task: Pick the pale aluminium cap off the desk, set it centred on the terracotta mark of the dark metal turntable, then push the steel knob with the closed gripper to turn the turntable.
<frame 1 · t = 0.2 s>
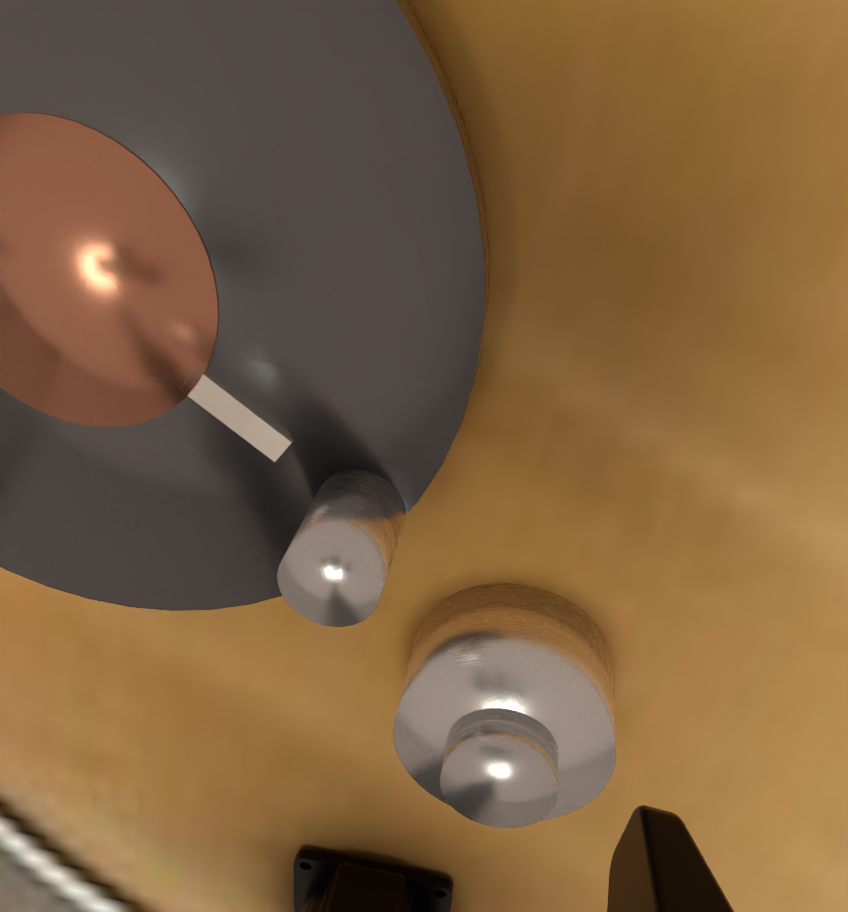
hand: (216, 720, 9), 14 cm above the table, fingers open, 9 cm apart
turntable: (46, 299, 18), point 3 cm above the table, hinge at 0.0°
cap: (511, 660, 26), on the table
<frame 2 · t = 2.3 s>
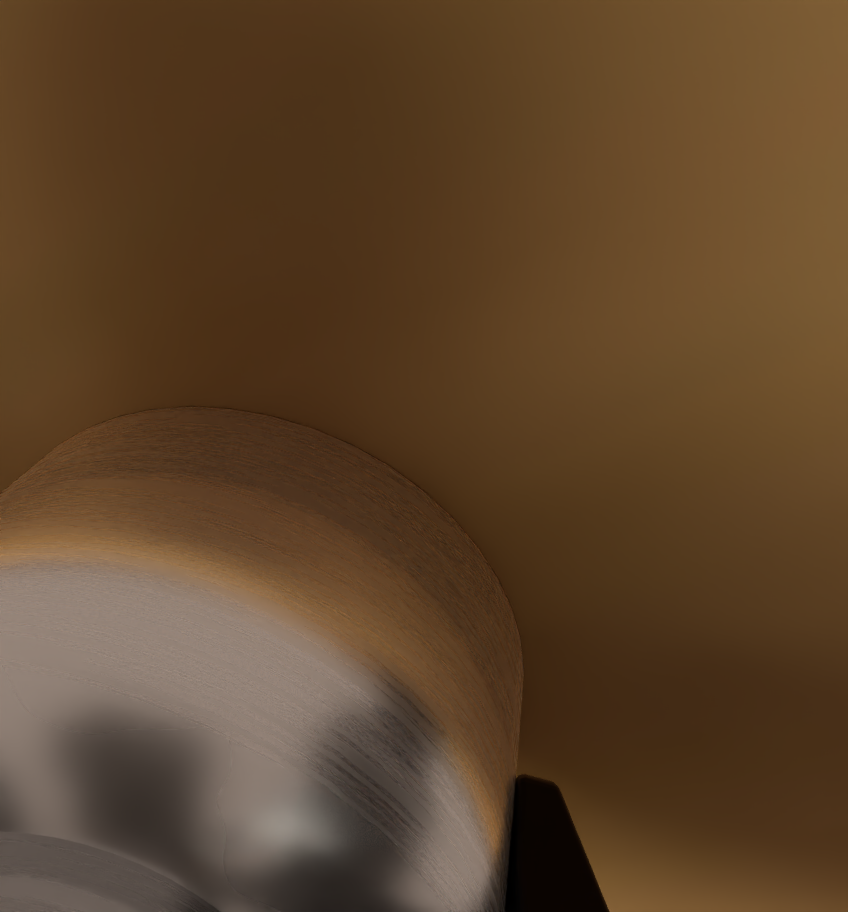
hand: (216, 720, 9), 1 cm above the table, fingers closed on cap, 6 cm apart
cap: (250, 653, 9), on the table, touching gripper
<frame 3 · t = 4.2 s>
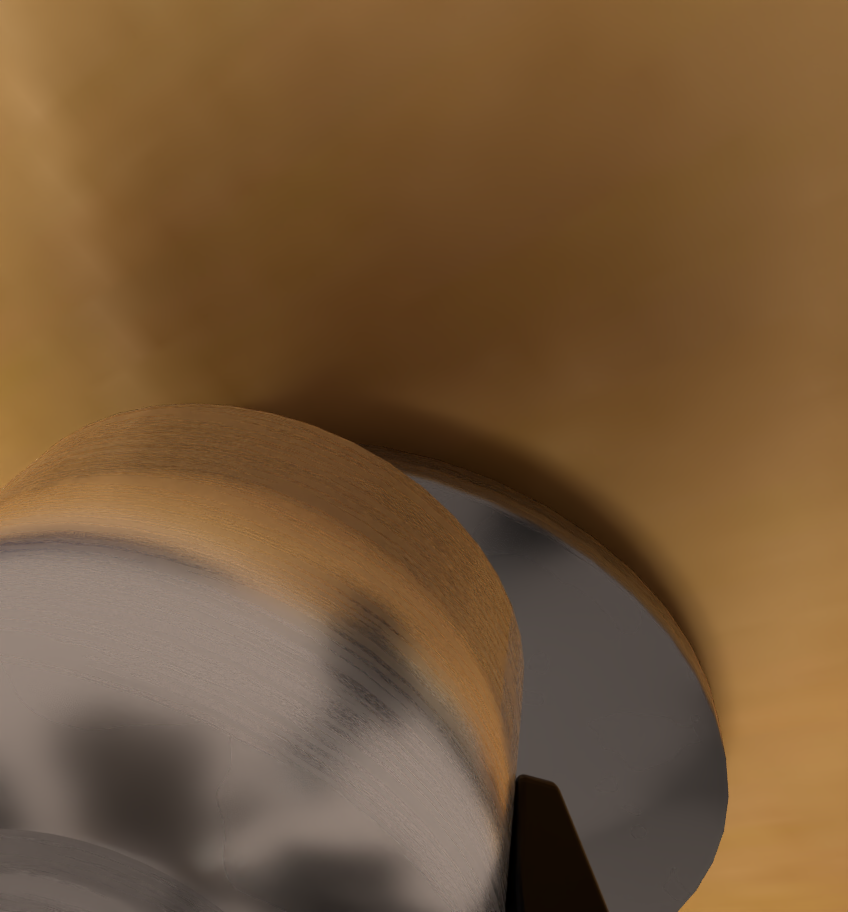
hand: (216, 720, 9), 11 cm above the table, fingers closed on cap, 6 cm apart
turntable: (335, 808, 21), point 4 cm above the table, hinge at 0.0°
cap: (250, 650, 9), point 10 cm above the table, touching gripper
when the fingers open (5 cm above the table, at t = 6.5 s): cap drops 1 cm, resting on turntable.
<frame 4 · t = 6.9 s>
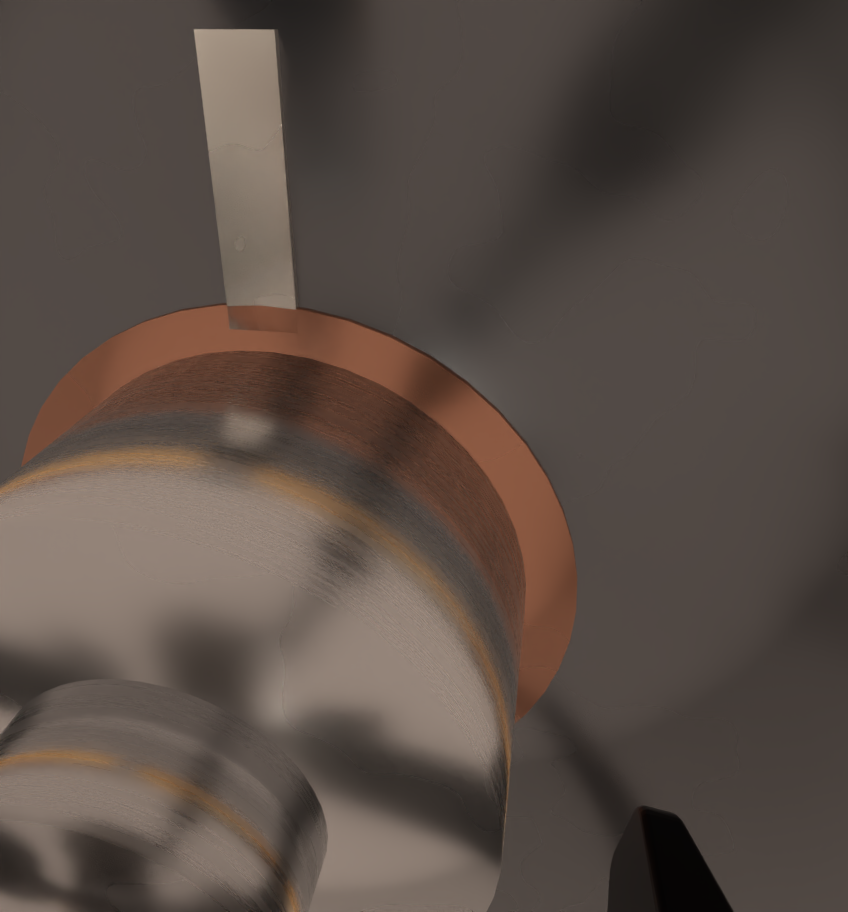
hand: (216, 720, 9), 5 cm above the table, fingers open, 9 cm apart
turntable: (264, 618, 10), point 3 cm above the table, hinge at 0.0°, touching cap
cap: (284, 576, 11), point 3 cm above the table, touching turntable
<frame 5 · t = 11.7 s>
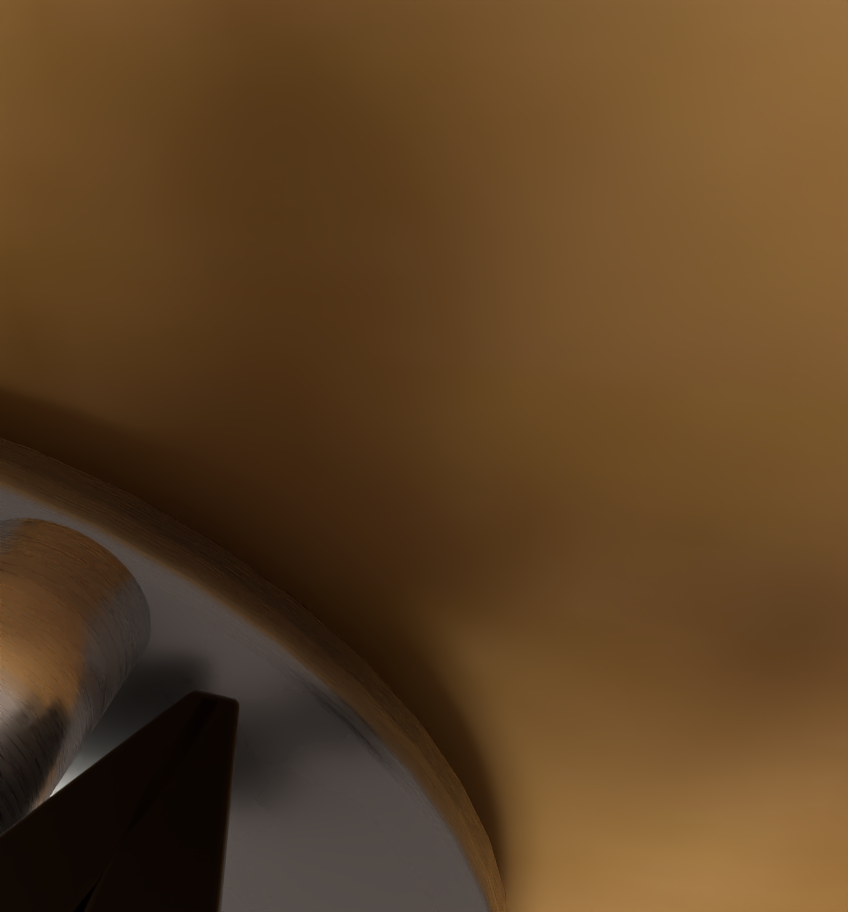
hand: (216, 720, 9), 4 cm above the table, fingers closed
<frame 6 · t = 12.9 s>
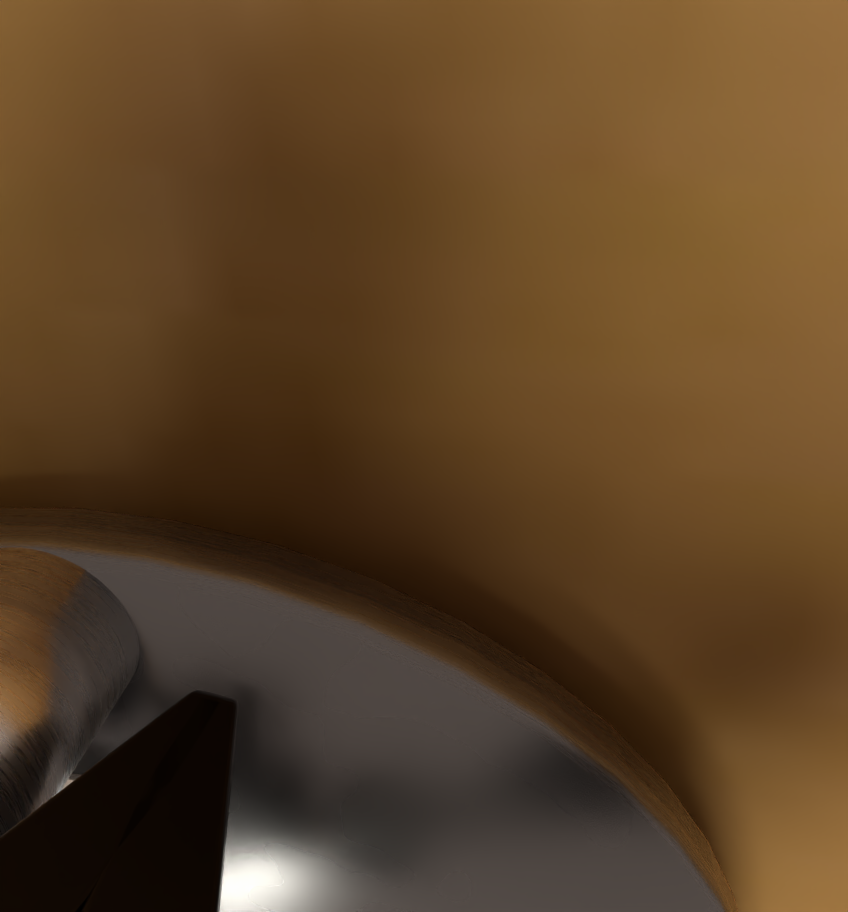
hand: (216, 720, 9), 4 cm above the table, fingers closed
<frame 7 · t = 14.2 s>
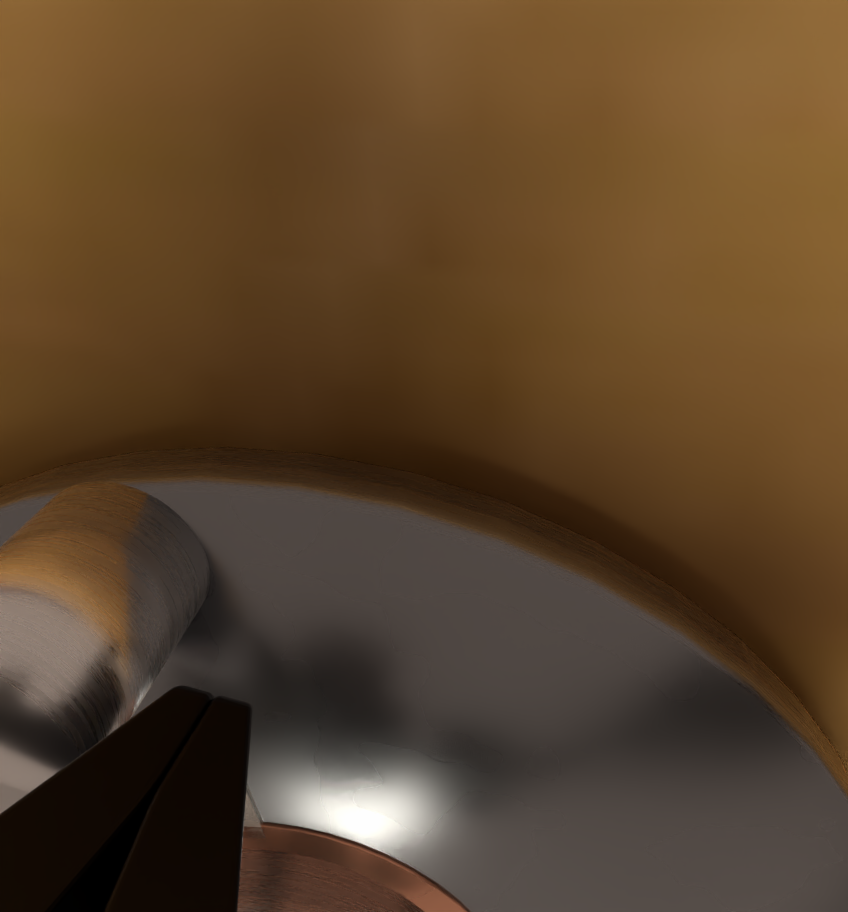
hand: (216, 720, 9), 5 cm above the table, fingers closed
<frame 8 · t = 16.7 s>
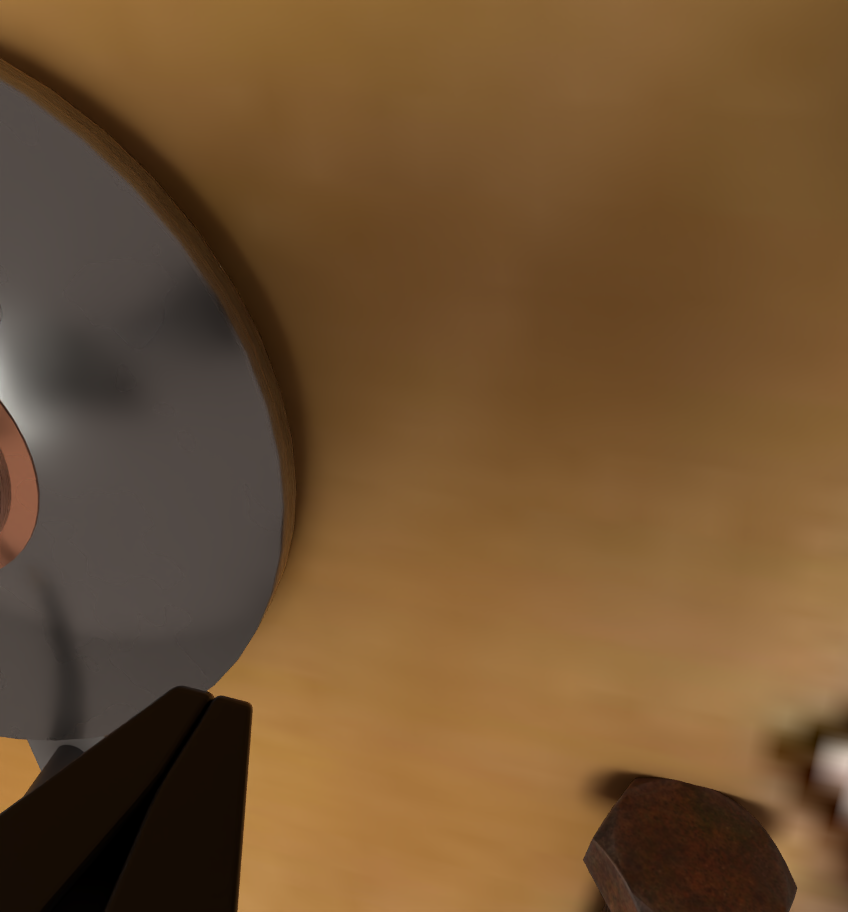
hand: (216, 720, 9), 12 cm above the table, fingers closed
bolt: (618, 909, 29), on the table
dial pointer: (88, 734, 28), on the table
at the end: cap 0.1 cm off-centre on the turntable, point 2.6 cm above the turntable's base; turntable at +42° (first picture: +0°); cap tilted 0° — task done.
